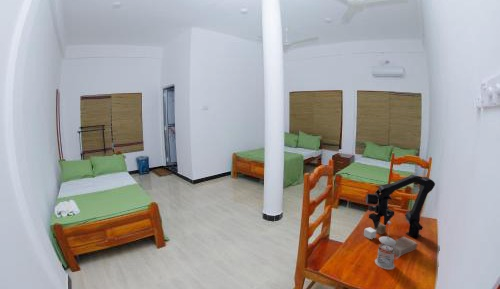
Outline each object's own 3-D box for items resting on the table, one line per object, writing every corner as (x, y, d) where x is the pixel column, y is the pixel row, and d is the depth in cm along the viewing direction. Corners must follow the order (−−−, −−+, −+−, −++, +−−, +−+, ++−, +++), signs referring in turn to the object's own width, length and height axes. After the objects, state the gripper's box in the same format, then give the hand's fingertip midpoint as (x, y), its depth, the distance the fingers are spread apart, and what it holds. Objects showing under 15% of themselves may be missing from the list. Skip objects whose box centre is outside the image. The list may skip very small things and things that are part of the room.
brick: (398, 257, 148) (399, 249, 147) (385, 249, 156) (386, 242, 155) (416, 249, 155) (418, 242, 154) (403, 242, 163) (404, 235, 162)
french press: (377, 255, 149) (381, 215, 144) (400, 264, 142) (405, 221, 137) (372, 264, 142) (377, 222, 137) (396, 273, 134) (402, 229, 129)
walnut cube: (378, 229, 178) (379, 222, 177) (385, 232, 174) (386, 225, 173) (373, 231, 176) (374, 224, 175) (380, 234, 171) (381, 227, 170)
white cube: (369, 234, 172) (369, 227, 171) (375, 237, 168) (376, 230, 167) (363, 235, 170) (364, 228, 169) (370, 239, 165) (371, 232, 164)
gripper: (381, 197, 182) (378, 218, 185) (362, 202, 173) (360, 224, 176) (396, 203, 172) (393, 225, 175) (377, 209, 164) (375, 232, 167)
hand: (380, 226), depth 174 cm, fingers open, 9 cm apart
